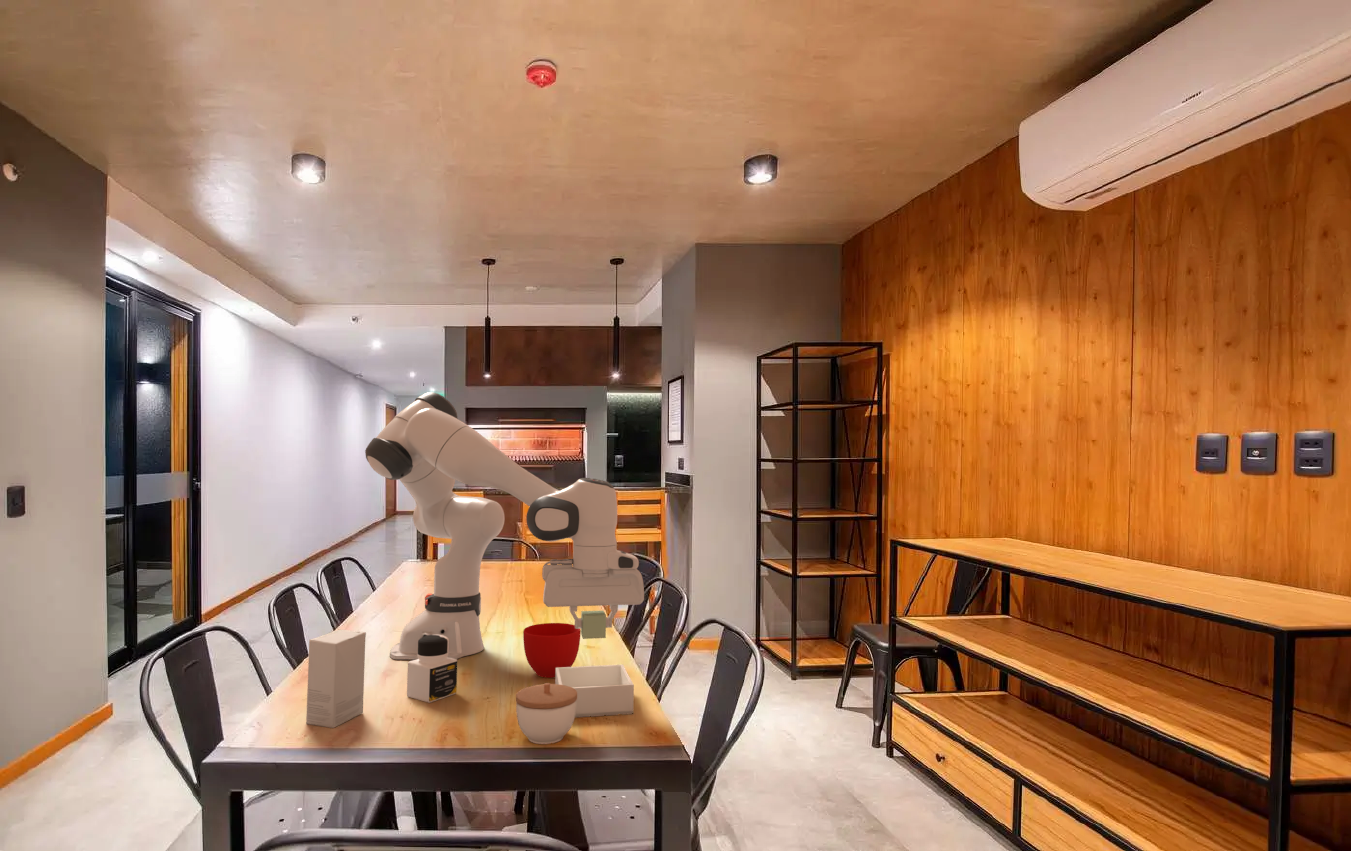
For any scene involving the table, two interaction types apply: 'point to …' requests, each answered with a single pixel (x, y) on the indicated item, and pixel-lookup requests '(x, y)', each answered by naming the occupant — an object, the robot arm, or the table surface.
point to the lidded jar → (546, 712)
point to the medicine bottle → (432, 670)
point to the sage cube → (593, 624)
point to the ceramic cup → (551, 647)
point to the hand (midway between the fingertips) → (593, 627)
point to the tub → (599, 689)
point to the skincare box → (335, 678)
